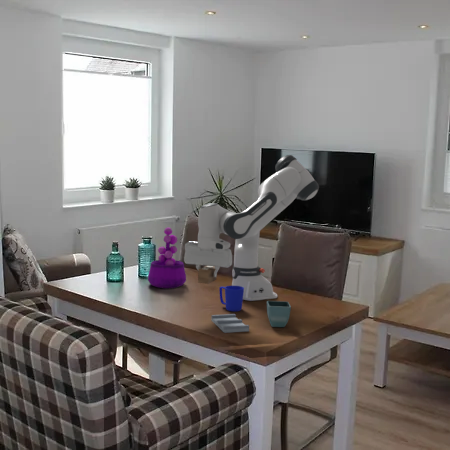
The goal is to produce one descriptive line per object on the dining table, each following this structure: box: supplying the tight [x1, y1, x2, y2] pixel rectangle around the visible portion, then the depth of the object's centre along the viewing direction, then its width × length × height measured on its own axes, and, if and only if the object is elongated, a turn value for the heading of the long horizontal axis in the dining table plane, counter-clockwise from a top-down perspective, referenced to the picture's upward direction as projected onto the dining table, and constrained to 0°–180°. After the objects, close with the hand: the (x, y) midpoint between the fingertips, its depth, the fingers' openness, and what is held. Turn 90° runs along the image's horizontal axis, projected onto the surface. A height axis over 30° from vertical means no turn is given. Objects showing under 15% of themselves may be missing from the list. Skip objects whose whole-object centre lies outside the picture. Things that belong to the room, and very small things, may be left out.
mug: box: [219, 285, 244, 312], centre depth 269 cm, size 8×12×10 cm
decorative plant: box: [147, 227, 187, 290], centre depth 305 cm, size 19×18×30 cm
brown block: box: [197, 265, 218, 285], centre depth 256 cm, size 9×4×6 cm, turn 159°
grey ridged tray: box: [210, 313, 250, 334], centre depth 245 cm, size 10×17×2 cm, turn 18°
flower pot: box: [266, 300, 292, 328], centre depth 247 cm, size 9×9×9 cm
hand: (207, 276), depth 256 cm, fingers closed on brown block, 5 cm apart
